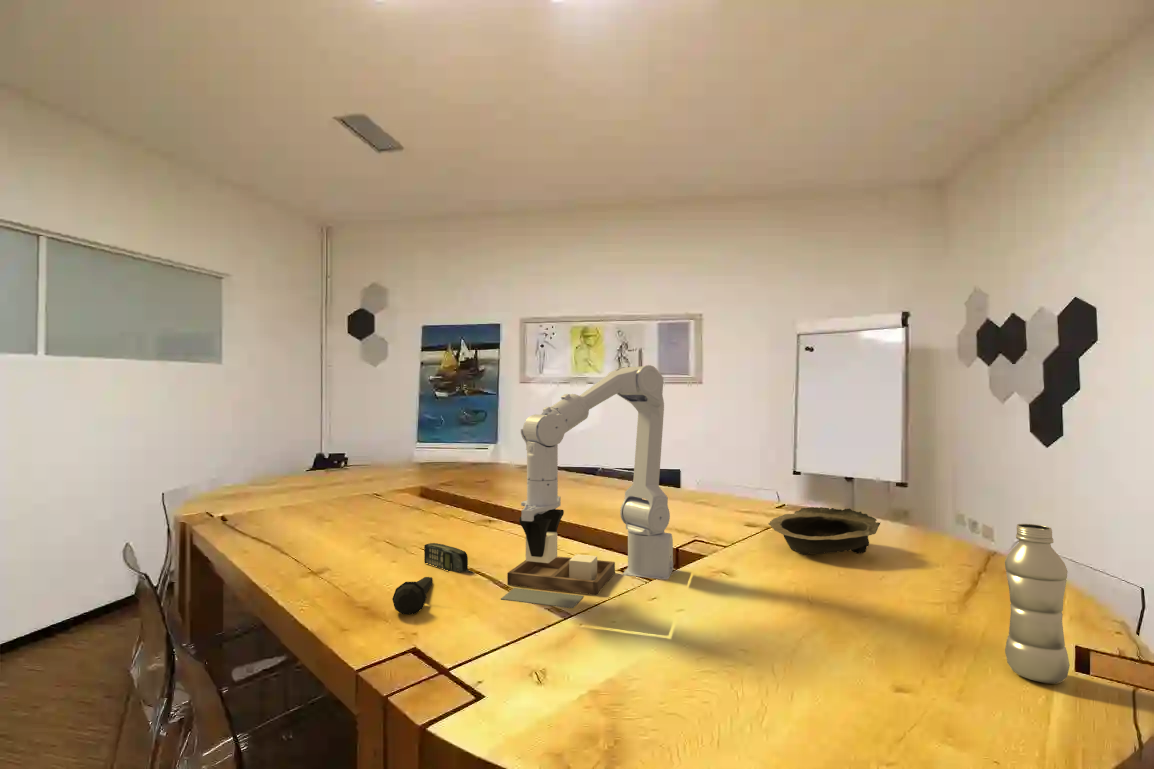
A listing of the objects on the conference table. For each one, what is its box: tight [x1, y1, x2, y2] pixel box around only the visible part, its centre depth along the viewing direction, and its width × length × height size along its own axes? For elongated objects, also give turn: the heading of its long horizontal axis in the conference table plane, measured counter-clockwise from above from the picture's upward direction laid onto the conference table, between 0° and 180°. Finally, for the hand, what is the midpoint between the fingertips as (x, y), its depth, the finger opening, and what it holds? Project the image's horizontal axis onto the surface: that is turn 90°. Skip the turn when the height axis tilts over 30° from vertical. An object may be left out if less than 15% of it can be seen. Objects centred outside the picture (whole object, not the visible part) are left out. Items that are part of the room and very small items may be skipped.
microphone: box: [391, 576, 433, 615], centre depth 102 cm, size 6×6×20 cm
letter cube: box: [525, 531, 558, 563], centre depth 102 cm, size 4×4×5 cm
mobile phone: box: [423, 542, 474, 574], centre depth 120 cm, size 5×3×15 cm
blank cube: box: [569, 553, 598, 581], centre depth 110 cm, size 4×4×4 cm
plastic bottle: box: [1004, 523, 1071, 684], centre depth 73 cm, size 6×7×20 cm
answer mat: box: [500, 587, 585, 609], centre depth 101 cm, size 14×6×1 cm, turn 72°
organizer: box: [506, 555, 616, 596], centre depth 112 cm, size 18×14×3 cm
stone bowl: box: [767, 506, 881, 556], centre depth 134 cm, size 25×25×9 cm
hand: (542, 552), depth 102 cm, fingers closed on letter cube, 4 cm apart
